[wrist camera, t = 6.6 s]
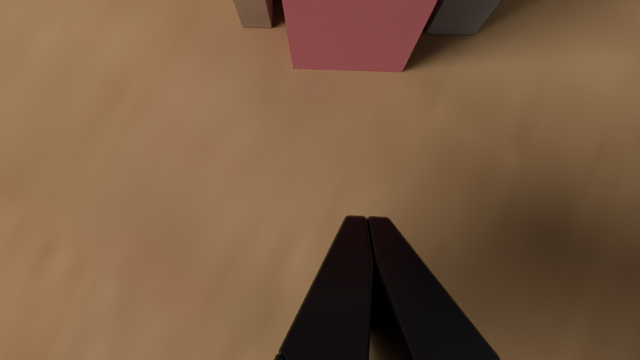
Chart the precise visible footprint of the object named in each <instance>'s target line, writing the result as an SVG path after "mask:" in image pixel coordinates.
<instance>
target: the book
mask: <svg viewBox="0 0 640 360" xmlns="http://www.w3.org/2000/svg"><path fill="white" fill-rule="evenodd" d="M436 2H437V0H282V4H283V10H284V16H285V22H286V28H287V34H288V40H289V46H290V52H291V58H292V64H293V69H318V70H350V71H382V72H402V71H403V69H404V67H405V65H406V63H407V61H408V59H409V57H410V55H411V53H412V51H413V49H414V47H415V45H416V43H417V41H418V39H419V37H420V35H421V33H422V31H423V29H424V27H425V25H426V23H427V21H428V19H429V17H430V15H431V13H432V11H433V8H434V6H435V4H436Z"/></svg>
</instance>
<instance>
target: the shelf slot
mask: <svg viewBox="0 0 640 360" xmlns="http://www.w3.org/2000/svg"><path fill="white" fill-rule="evenodd" d="M233 1H234V4H235V7H236V9H237V12H238V15H239V17H240V20H241V23H242V26H243V27H255V28H272V13H273V0H233ZM500 1H501V0H437V2H436V4H435V6H434V8H433V11H432V13H431V15H430V17H429V19H428V21H427V33H430V34H459V35H475V34H476V33H477V31H478V30H479V29H480V27H481V26H482V25H483V24H484V22H485V21H486V20H487V18H488V17H489V16H490V14H491V13H492V12H493V11H494V9H495V8H496V7H497V5H498V4H499V3H500Z"/></svg>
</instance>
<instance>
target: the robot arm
mask: <svg viewBox="0 0 640 360" xmlns="http://www.w3.org/2000/svg"><path fill="white" fill-rule="evenodd" d="M369 359H370V360H500V358H499V356H498V355H497V354H496V352H495V351H494V350H493V349H492V347H491V346H490V345H489V344H488V342H487V341H486V340H485V339H484V337H483V336H482V335H481V334H480V332H479V331H478V330H477V329H476V327H475V326H474V325H473V324H472V322H471V321H470V320H469V318H468V317H467V316H466V315H465V313H464V312H463V311H462V310H461V308H460V307H459V306H458V305H457V303H456V302H455V301H454V300H453V298H452V297H451V296H450V295H449V293H448V292H447V291H446V289H445V288H444V287H443V286H442V284H441V283H440V282H439V281H438V279H437V278H436V277H435V276H434V274H433V273H432V272H431V271H430V269H429V268H428V267H427V266H426V264H425V263H424V262H423V260H422V259H421V258H420V257H419V255H418V254H417V253H416V252H415V250H414V249H413V248H412V247H411V245H410V244H409V243H408V242H407V240H406V239H405V238H404V237H403V235H402V234H401V233H400V232H399V230H398V229H397V228H396V226H395V225H394V224H393V223H392V221H391V220H390V219H389V218H387V217H378V216H369V217H368V218H367V219H366V217H365V216H352V215H348V216H346V217H345V218H344V220H343V222H342V224H341V226H340V228H339V230H338V232H337V234H336V237H335V239H334V241H333V243H332V245H331V247H330V249H329V251H328V253H327V255H326V257H325V259H324V261H323V263H322V265H321V267H320V269H319V271H318V273H317V275H316V277H315V279H314V281H313V283H312V285H311V287H310V289H309V291H308V293H307V295H306V297H305V299H304V301H303V303H302V305H301V307H300V309H299V311H298V313H297V315H296V317H295V319H294V321H293V323H292V325H291V327H290V329H289V331H288V333H287V335H286V337H285V339H284V341H283V343H282V345H281V347H280V349H279V354H277V355H276V356H275V358H274V360H369Z"/></svg>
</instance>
